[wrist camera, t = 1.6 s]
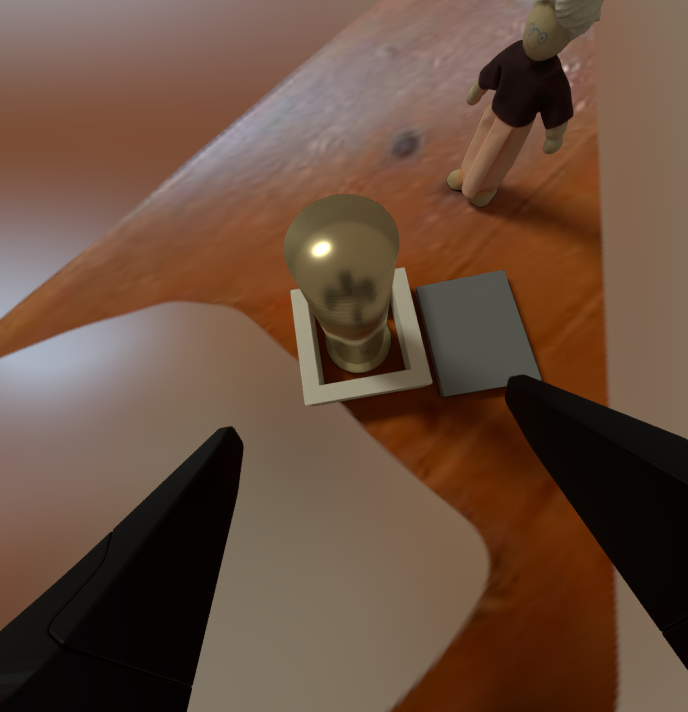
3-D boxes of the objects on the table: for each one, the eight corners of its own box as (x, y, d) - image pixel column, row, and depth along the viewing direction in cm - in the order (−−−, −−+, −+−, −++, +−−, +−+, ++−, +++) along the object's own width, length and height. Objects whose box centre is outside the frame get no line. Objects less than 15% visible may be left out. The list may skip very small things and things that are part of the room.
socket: (425, 386, 20) (432, 383, 18) (312, 406, 21) (304, 405, 18) (400, 283, 22) (404, 267, 20) (298, 303, 23) (290, 290, 20)
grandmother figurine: (428, 185, 24) (487, -51, 12) (452, 157, 25) (533, -101, 12) (502, 226, 22) (662, 0, 10) (527, 195, 23) (709, -59, 11)
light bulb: (395, 367, 21) (433, 297, 8) (332, 378, 21) (275, 327, 9) (383, 307, 22) (399, 166, 9) (323, 319, 22) (260, 197, 10)
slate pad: (534, 381, 20) (541, 379, 19) (441, 397, 20) (444, 396, 19) (499, 275, 22) (503, 269, 21) (414, 291, 22) (416, 287, 21)
